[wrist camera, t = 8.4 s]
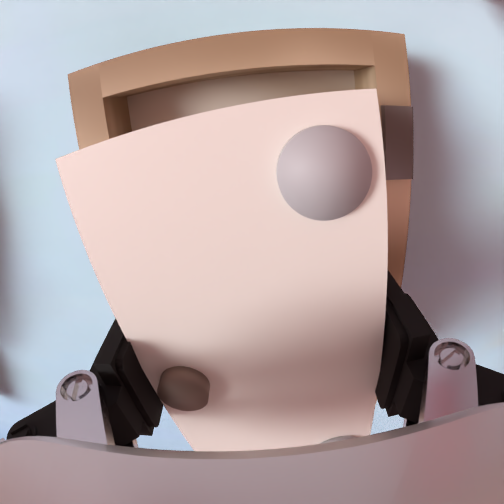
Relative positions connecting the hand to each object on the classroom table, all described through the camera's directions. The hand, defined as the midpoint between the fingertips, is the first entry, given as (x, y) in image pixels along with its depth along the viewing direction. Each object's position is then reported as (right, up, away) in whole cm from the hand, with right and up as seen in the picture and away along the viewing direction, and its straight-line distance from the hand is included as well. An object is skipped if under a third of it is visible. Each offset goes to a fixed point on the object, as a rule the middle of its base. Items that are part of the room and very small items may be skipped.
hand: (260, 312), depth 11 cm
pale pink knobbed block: (0, 0, +1) cm, 1 cm away
